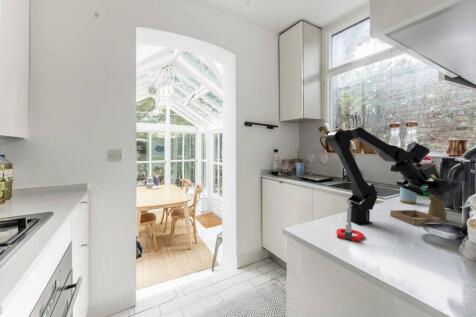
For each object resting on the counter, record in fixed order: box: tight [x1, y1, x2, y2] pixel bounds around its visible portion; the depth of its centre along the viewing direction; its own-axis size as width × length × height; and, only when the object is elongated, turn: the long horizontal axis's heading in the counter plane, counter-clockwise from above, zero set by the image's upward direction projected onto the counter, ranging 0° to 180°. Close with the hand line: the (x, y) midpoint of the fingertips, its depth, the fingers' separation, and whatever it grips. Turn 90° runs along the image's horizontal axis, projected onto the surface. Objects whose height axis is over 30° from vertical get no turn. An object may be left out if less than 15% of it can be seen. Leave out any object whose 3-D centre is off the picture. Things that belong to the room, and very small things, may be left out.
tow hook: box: [335, 201, 365, 243], centre depth 72 cm, size 8×13×9 cm
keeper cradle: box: [389, 209, 443, 227], centre depth 87 cm, size 12×12×2 cm
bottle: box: [399, 174, 417, 205], centre depth 114 cm, size 7×7×15 cm
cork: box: [427, 193, 448, 223], centre depth 87 cm, size 6×6×11 cm
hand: (433, 197), depth 87 cm, fingers open, 9 cm apart
